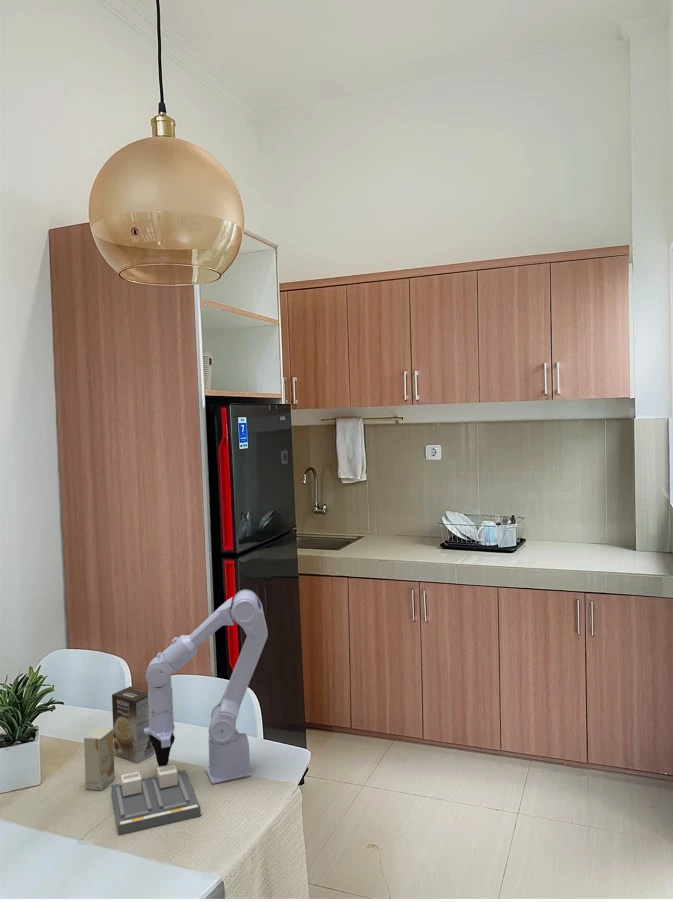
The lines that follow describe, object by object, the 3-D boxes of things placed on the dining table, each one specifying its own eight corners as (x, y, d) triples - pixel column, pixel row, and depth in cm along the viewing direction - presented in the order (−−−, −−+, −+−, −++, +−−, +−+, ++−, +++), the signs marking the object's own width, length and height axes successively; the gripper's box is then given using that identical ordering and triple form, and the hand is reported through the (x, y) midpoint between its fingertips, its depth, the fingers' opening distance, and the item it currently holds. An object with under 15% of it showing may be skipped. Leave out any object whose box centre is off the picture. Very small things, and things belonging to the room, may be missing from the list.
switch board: (185, 777, 169) (185, 767, 169) (200, 815, 152) (200, 804, 152) (111, 793, 163) (111, 782, 162) (118, 835, 146) (117, 822, 146)
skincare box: (102, 791, 164) (99, 739, 163) (85, 789, 165) (82, 738, 164) (116, 777, 170) (113, 727, 170) (99, 776, 171) (97, 726, 170)
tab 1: (139, 784, 162) (139, 768, 162) (141, 792, 158) (141, 776, 158) (121, 788, 160) (120, 772, 160) (123, 796, 157) (122, 780, 157)
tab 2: (174, 776, 165) (174, 761, 165) (177, 784, 161) (177, 769, 161) (157, 780, 163) (156, 765, 163) (159, 788, 160) (159, 773, 160)
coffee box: (112, 755, 182) (110, 694, 181) (131, 745, 187) (129, 685, 186) (137, 763, 177) (134, 700, 176) (156, 753, 182) (154, 692, 181)
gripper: (139, 700, 173) (141, 755, 174) (147, 723, 160) (149, 782, 161) (169, 695, 176) (170, 749, 177) (178, 717, 163) (180, 775, 163)
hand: (162, 764), depth 169 cm, fingers closed
